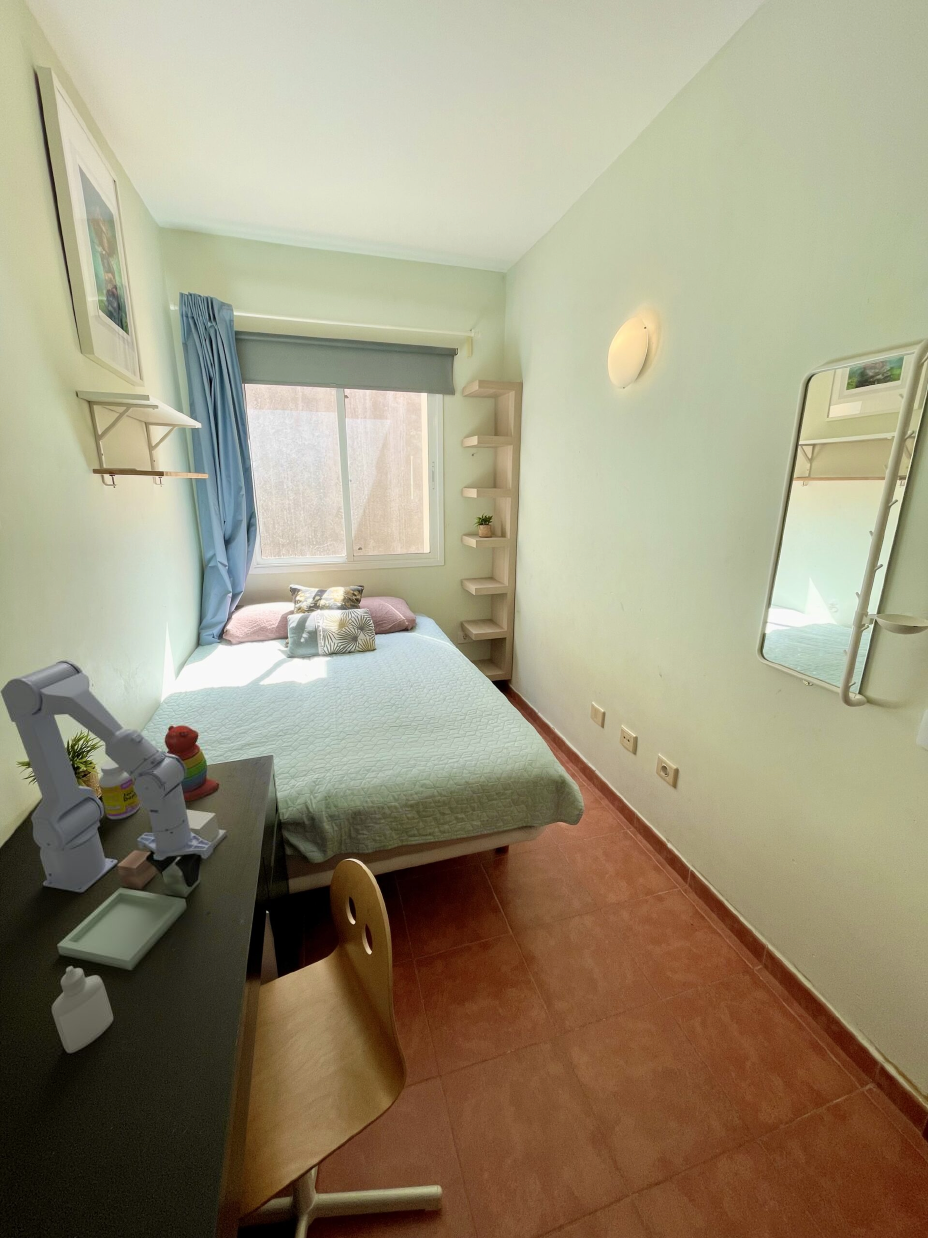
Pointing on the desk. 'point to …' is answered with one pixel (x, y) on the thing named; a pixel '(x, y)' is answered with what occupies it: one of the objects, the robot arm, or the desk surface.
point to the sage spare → (176, 881)
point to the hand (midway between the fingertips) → (182, 881)
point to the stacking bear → (190, 762)
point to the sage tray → (123, 928)
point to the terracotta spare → (136, 870)
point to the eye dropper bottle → (81, 1009)
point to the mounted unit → (205, 826)
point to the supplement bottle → (117, 791)
